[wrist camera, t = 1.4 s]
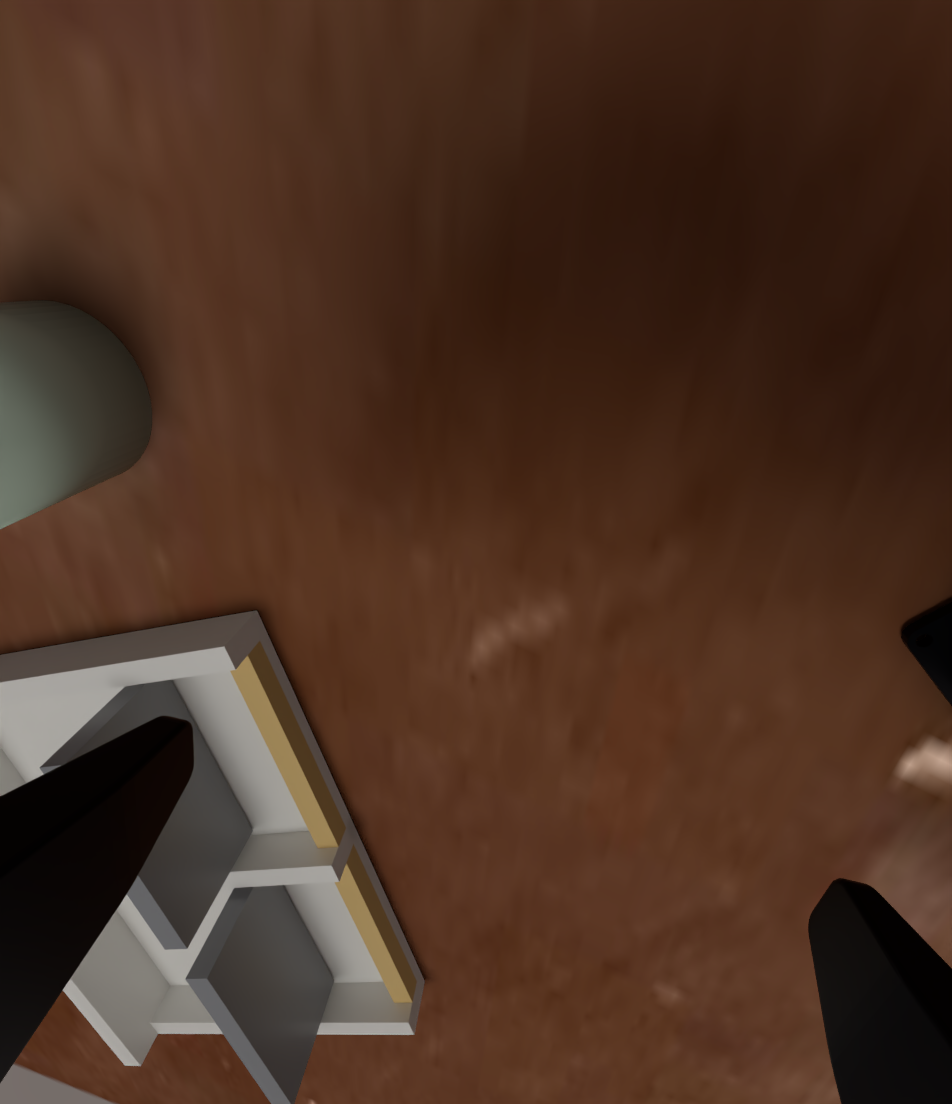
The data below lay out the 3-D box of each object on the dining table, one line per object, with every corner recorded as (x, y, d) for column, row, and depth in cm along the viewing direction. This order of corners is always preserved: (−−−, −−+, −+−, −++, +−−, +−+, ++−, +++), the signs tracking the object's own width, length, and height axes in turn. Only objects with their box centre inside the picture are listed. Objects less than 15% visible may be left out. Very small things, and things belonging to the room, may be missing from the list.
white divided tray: (256, 610, 23) (162, 714, 18) (424, 981, 32) (395, 1127, 27) (-59, 664, 27) (-218, 765, 22) (169, 985, 36) (97, 1115, 30)
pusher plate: (163, 665, 24) (63, 764, 20) (253, 830, 28) (187, 948, 23) (143, 669, 25) (39, 767, 20) (234, 832, 28) (165, 949, 23)
